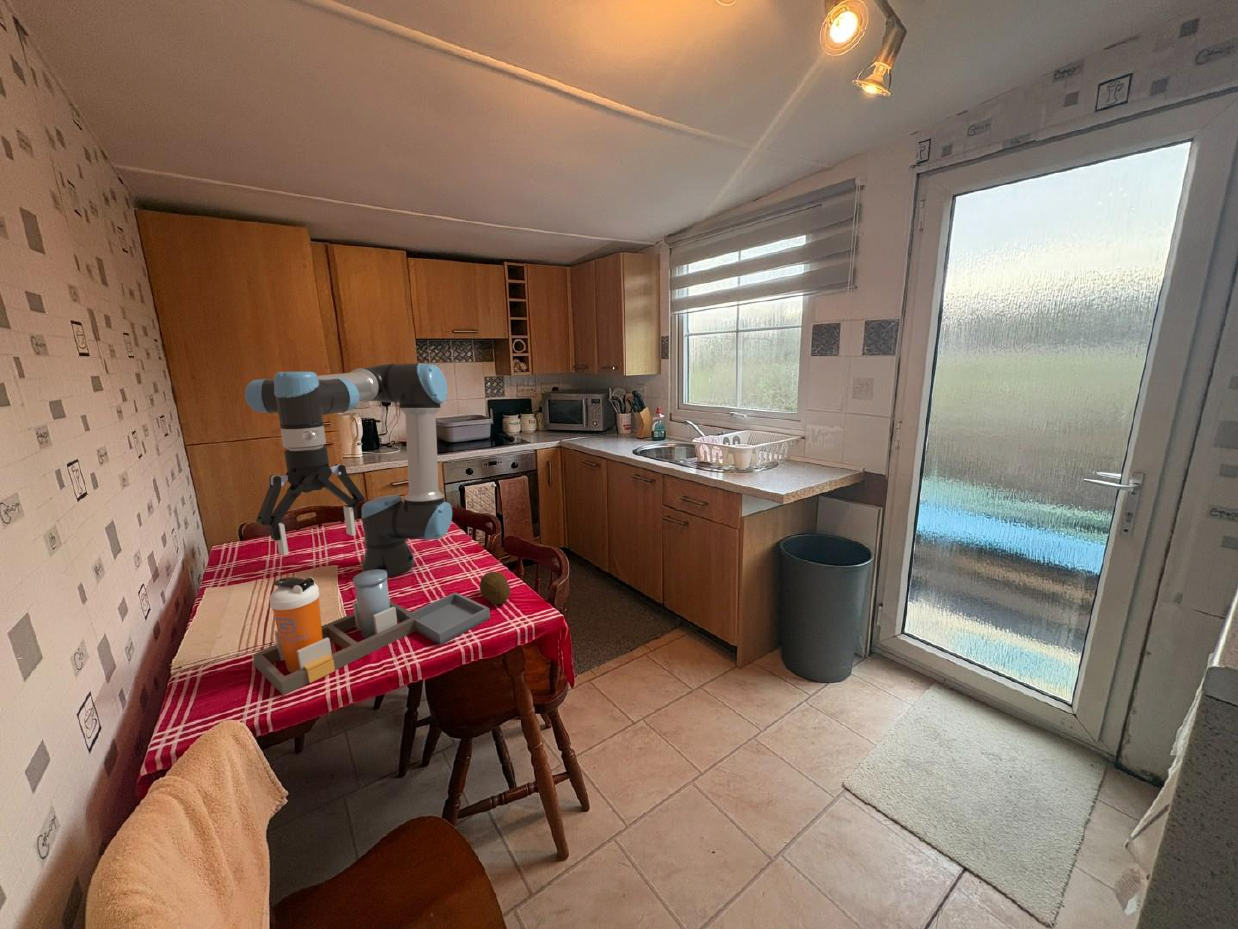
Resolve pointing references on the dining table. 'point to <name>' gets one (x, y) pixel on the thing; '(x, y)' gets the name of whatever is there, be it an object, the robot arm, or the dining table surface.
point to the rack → (319, 655)
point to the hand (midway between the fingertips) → (319, 543)
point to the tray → (449, 617)
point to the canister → (371, 598)
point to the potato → (495, 587)
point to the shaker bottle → (296, 616)
